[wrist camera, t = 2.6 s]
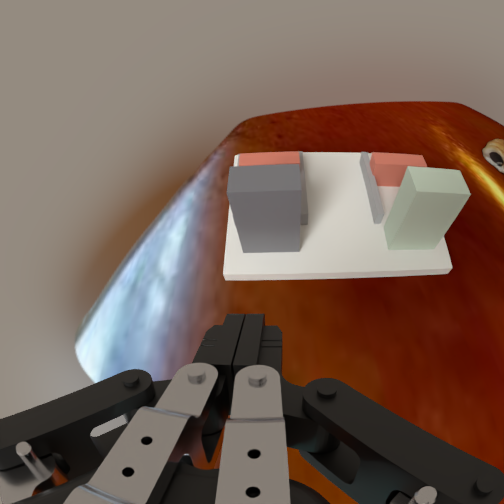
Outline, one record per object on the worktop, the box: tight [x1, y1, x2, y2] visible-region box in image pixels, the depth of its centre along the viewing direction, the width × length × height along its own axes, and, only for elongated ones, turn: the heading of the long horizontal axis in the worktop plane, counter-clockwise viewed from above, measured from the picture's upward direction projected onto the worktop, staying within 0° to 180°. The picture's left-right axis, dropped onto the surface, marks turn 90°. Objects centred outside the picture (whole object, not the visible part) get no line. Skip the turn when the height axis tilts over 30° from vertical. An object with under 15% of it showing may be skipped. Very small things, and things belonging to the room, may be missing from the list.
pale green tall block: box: [384, 166, 471, 250], centre depth 27 cm, size 6×3×10 cm, turn 88°
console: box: [223, 151, 452, 280], centre depth 34 cm, size 26×18×6 cm
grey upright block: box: [227, 164, 302, 253], centre depth 29 cm, size 6×3×10 cm, turn 88°
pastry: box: [482, 139, 504, 173], centre depth 37 cm, size 9×7×4 cm
